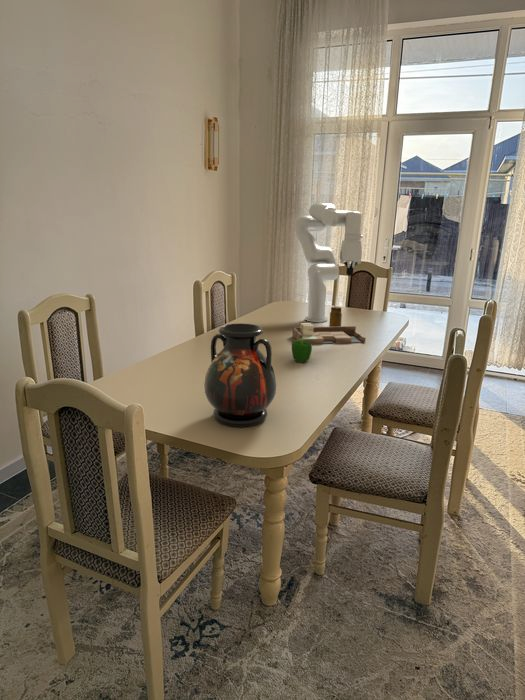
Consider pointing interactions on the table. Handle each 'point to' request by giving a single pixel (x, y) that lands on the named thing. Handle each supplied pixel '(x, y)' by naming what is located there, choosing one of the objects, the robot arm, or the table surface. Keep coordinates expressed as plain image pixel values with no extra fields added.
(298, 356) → the bell pepper
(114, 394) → the table surface
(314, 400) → the table surface
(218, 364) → the amphora vase
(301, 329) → the birch block
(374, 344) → the table surface
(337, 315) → the condiment
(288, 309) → the table surface
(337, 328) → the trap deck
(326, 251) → the robot arm
